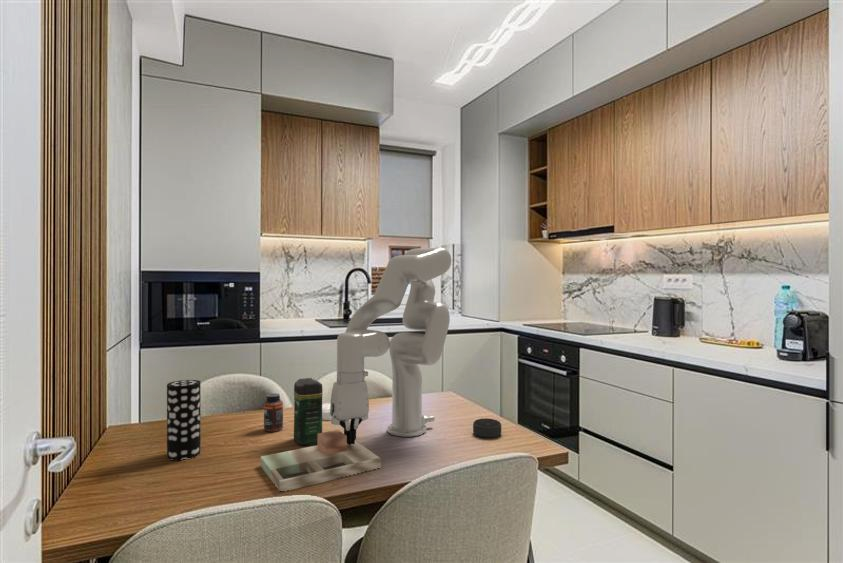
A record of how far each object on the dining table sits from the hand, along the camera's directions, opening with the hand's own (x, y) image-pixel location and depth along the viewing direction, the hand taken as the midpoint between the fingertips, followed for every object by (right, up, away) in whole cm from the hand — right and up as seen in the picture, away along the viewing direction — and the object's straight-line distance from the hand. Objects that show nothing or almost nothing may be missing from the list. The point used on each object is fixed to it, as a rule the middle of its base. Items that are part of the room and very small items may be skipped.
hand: (349, 442), depth 132 cm
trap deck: (-6, -3, -9) cm, 11 cm away
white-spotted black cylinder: (-46, -3, -1) cm, 46 cm away
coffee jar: (-14, -3, +11) cm, 18 cm away
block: (-4, -1, -3) cm, 5 cm away
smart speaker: (+41, -4, +18) cm, 45 cm away
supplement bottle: (-28, -3, +21) cm, 35 cm away
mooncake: (-12, -3, +37) cm, 40 cm away
